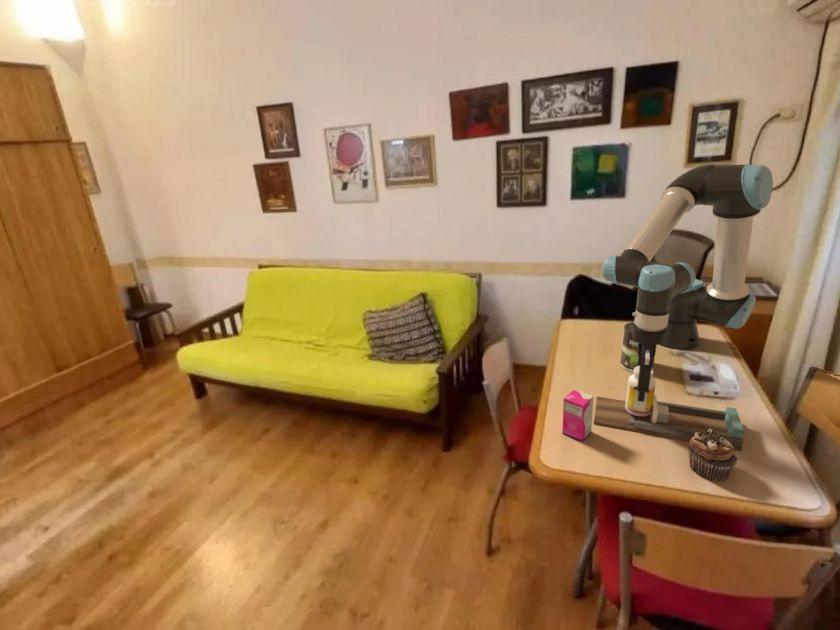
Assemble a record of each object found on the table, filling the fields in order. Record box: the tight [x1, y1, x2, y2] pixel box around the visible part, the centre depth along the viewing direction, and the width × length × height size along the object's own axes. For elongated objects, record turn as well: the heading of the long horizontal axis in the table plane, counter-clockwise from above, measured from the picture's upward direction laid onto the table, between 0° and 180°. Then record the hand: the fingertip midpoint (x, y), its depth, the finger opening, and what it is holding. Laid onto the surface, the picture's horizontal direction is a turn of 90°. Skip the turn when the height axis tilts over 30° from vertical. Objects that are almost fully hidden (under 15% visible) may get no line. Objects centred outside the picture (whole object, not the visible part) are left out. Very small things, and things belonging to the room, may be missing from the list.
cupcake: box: [688, 428, 738, 482], centre depth 101 cm, size 10×10×10 cm
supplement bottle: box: [625, 366, 656, 416], centre depth 119 cm, size 7×7×13 cm
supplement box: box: [561, 389, 594, 443], centre depth 116 cm, size 6×6×12 cm
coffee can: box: [619, 321, 658, 373], centre depth 145 cm, size 10×10×14 cm
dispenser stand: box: [593, 396, 745, 452], centre depth 119 cm, size 13×34×5 cm, turn 66°
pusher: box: [650, 393, 669, 424], centre depth 119 cm, size 9×4×5 cm, turn 156°
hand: (639, 401), depth 120 cm, fingers closed on supplement bottle, 7 cm apart
